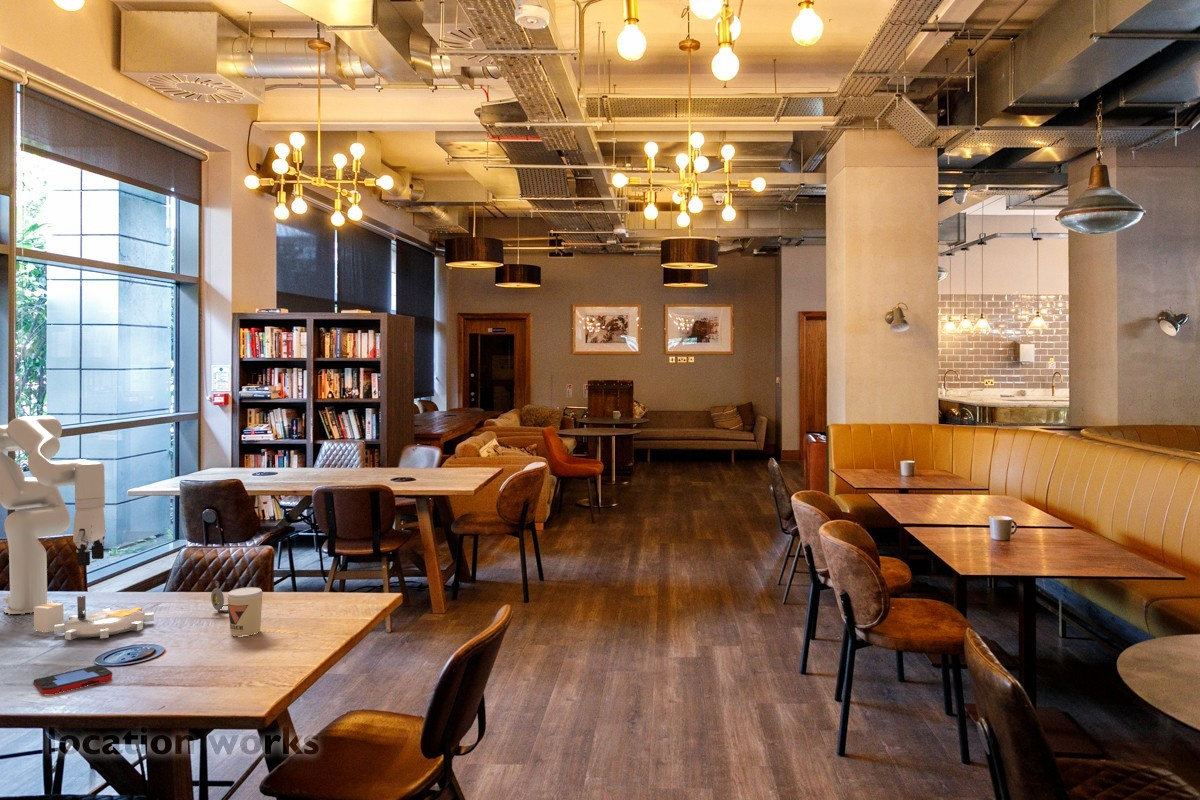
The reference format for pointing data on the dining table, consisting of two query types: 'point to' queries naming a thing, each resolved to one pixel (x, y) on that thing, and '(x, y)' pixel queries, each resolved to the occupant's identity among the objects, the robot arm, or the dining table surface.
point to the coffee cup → (245, 610)
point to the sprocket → (102, 622)
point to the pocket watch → (218, 601)
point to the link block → (48, 616)
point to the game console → (73, 679)
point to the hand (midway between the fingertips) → (90, 561)
